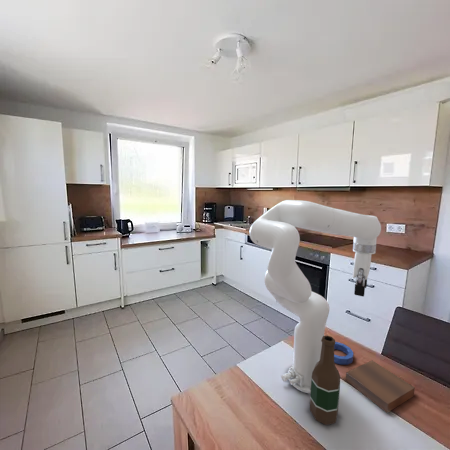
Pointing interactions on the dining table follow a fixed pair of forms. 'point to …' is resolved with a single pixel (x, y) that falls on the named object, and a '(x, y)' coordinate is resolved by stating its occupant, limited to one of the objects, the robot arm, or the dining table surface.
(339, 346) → the ring
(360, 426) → the dining table surface
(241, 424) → the dining table surface
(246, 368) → the dining table surface
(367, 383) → the platform
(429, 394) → the dining table surface
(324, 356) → the beer bottle
